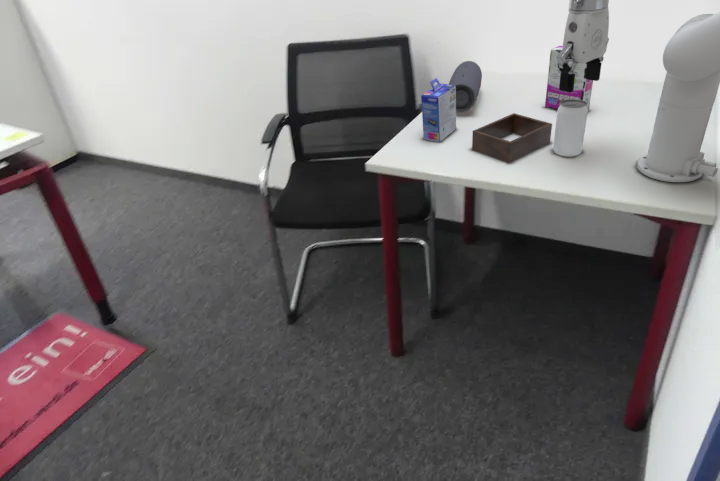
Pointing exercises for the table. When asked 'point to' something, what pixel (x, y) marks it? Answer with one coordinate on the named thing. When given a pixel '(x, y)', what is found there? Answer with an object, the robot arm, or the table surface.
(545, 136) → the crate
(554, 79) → the candy bar box
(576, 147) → the can
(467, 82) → the bluetooth speaker
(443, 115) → the ink cartridge box
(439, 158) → the table surface
